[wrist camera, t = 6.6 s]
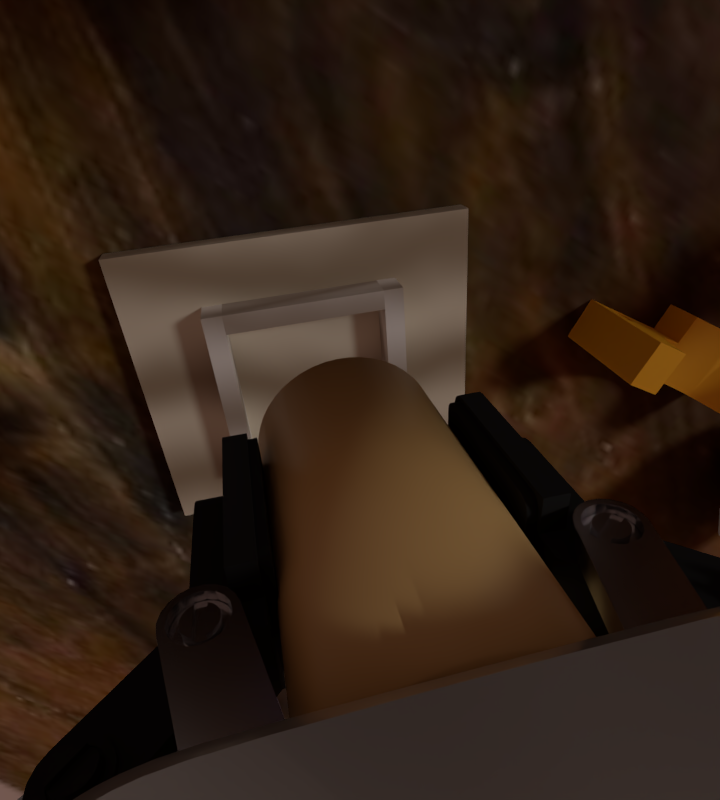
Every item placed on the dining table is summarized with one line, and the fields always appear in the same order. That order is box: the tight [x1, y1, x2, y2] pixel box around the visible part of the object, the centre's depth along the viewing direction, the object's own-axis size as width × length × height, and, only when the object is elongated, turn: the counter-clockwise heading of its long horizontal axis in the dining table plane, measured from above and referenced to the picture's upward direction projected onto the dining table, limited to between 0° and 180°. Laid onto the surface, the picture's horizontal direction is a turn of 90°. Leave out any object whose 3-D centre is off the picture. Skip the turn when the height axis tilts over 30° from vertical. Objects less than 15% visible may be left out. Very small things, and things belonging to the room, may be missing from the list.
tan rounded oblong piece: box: [258, 357, 596, 718], centre depth 11 cm, size 4×4×8 cm
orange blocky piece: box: [568, 299, 720, 414], centre depth 33 cm, size 12×4×6 cm, turn 65°
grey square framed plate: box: [99, 205, 468, 516], centre depth 31 cm, size 16×18×3 cm
